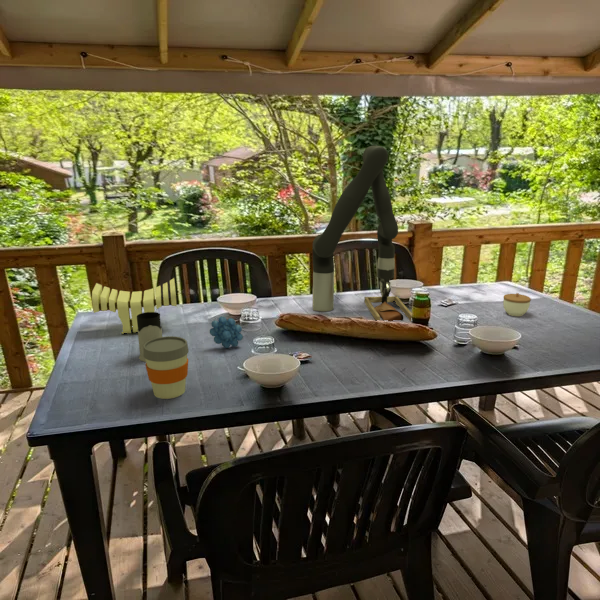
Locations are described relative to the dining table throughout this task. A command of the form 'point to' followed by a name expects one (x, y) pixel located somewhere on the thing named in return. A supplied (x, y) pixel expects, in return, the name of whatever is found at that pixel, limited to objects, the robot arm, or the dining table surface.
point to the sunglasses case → (388, 312)
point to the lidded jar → (516, 304)
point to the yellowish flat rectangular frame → (389, 299)
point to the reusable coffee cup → (167, 365)
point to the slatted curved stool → (131, 303)
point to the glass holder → (148, 329)
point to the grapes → (226, 332)
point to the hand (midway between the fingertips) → (384, 304)
